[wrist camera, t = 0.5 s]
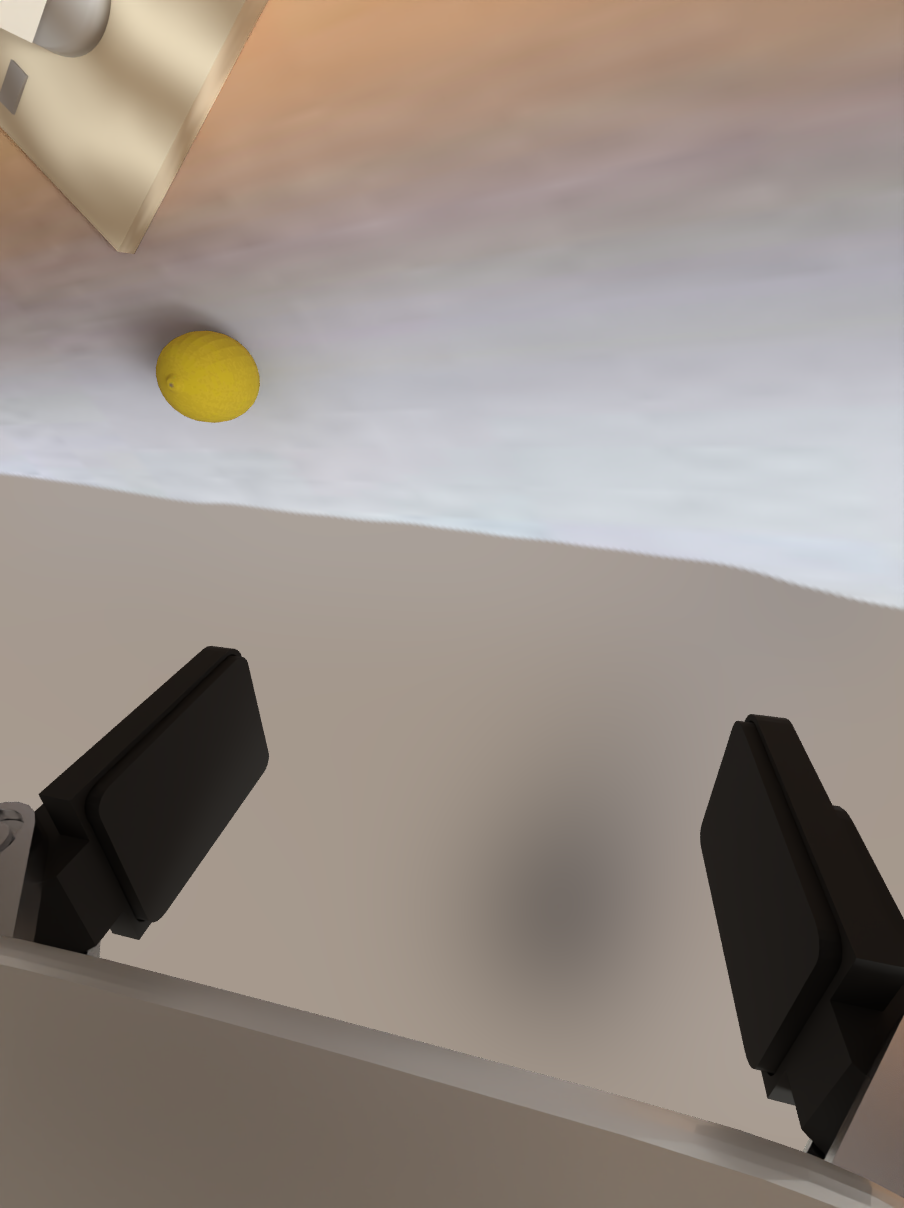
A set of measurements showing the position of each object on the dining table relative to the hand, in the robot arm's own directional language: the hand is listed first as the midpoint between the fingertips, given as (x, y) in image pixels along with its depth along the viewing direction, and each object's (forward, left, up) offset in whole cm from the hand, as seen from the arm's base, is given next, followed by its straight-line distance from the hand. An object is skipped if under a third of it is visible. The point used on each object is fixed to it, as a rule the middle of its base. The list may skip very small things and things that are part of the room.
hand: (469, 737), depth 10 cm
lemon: (+14, -18, -30) cm, 38 cm away
